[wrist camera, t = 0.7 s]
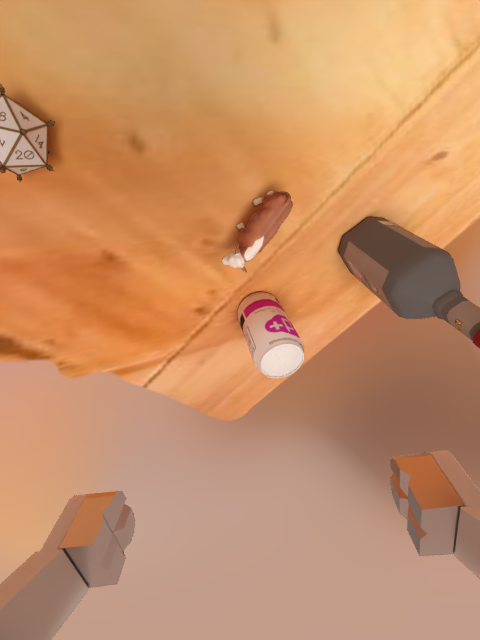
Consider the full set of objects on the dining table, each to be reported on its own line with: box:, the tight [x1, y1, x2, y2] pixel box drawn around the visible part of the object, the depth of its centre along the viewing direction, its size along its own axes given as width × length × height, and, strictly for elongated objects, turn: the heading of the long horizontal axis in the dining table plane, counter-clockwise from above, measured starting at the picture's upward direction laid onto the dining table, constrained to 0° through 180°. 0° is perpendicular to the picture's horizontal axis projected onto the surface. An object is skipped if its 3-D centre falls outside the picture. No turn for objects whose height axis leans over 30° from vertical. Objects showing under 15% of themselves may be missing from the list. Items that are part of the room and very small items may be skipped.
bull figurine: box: [222, 191, 293, 272], centre depth 47 cm, size 4×13×8 cm, turn 136°
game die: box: [0, 84, 55, 182], centre depth 35 cm, size 9×8×10 cm
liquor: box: [339, 217, 480, 348], centre depth 45 cm, size 9×9×30 cm
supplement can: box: [237, 292, 304, 378], centre depth 54 cm, size 8×8×15 cm
